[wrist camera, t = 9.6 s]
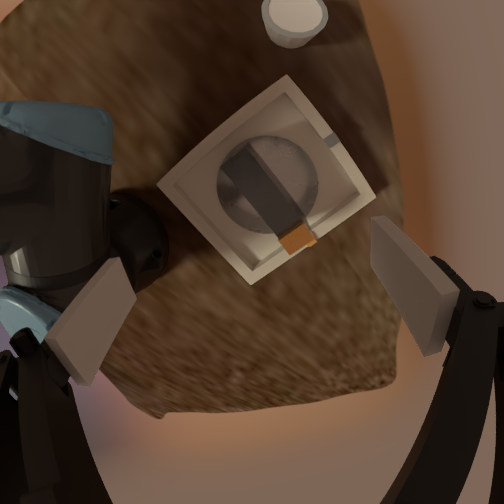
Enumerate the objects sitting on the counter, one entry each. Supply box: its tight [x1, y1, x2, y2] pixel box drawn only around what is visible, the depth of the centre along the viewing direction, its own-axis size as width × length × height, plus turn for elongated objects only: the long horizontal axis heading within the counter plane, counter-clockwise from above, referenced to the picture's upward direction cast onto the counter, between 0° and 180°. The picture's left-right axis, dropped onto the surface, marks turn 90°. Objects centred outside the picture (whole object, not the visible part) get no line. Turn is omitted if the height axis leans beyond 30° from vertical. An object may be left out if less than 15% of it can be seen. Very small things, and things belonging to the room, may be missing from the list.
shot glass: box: [261, 0, 328, 48], centre depth 23 cm, size 7×7×7 cm
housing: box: [156, 74, 376, 285], centre depth 34 cm, size 20×18×4 cm
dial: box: [217, 135, 318, 255], centre depth 30 cm, size 12×12×8 cm
